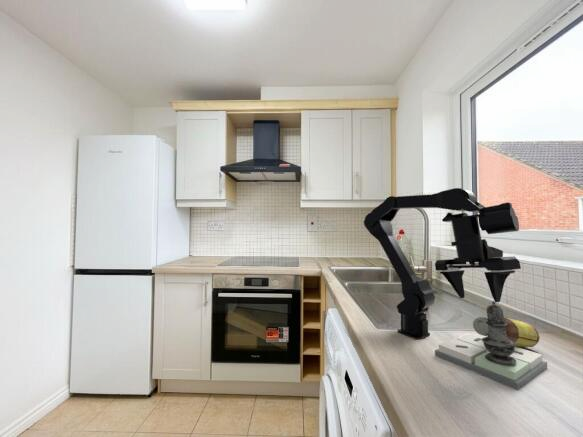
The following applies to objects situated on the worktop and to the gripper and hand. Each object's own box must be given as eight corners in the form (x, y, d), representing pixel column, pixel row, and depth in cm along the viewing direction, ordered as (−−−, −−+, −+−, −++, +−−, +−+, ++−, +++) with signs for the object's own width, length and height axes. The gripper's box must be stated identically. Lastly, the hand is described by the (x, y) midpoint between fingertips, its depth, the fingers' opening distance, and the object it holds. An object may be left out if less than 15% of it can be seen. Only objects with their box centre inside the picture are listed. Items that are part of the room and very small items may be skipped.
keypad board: (435, 355, 64) (434, 343, 64) (468, 341, 72) (468, 330, 73) (517, 389, 50) (517, 374, 51) (547, 367, 59) (546, 354, 59)
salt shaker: (526, 363, 54) (518, 302, 56) (502, 366, 53) (495, 304, 54) (498, 352, 60) (491, 297, 61) (476, 355, 59) (470, 299, 60)
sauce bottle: (517, 318, 73) (474, 304, 65) (545, 331, 67) (501, 317, 59) (507, 340, 73) (463, 329, 65) (535, 354, 67) (490, 344, 59)
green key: (474, 370, 57) (474, 356, 57) (489, 362, 61) (489, 349, 61) (515, 387, 51) (514, 371, 51) (529, 376, 55) (528, 362, 55)
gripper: (530, 230, 61) (546, 300, 59) (460, 239, 79) (469, 293, 76) (494, 232, 58) (509, 306, 56) (429, 241, 76) (438, 297, 73)
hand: (478, 299), depth 65 cm, fingers open, 9 cm apart
